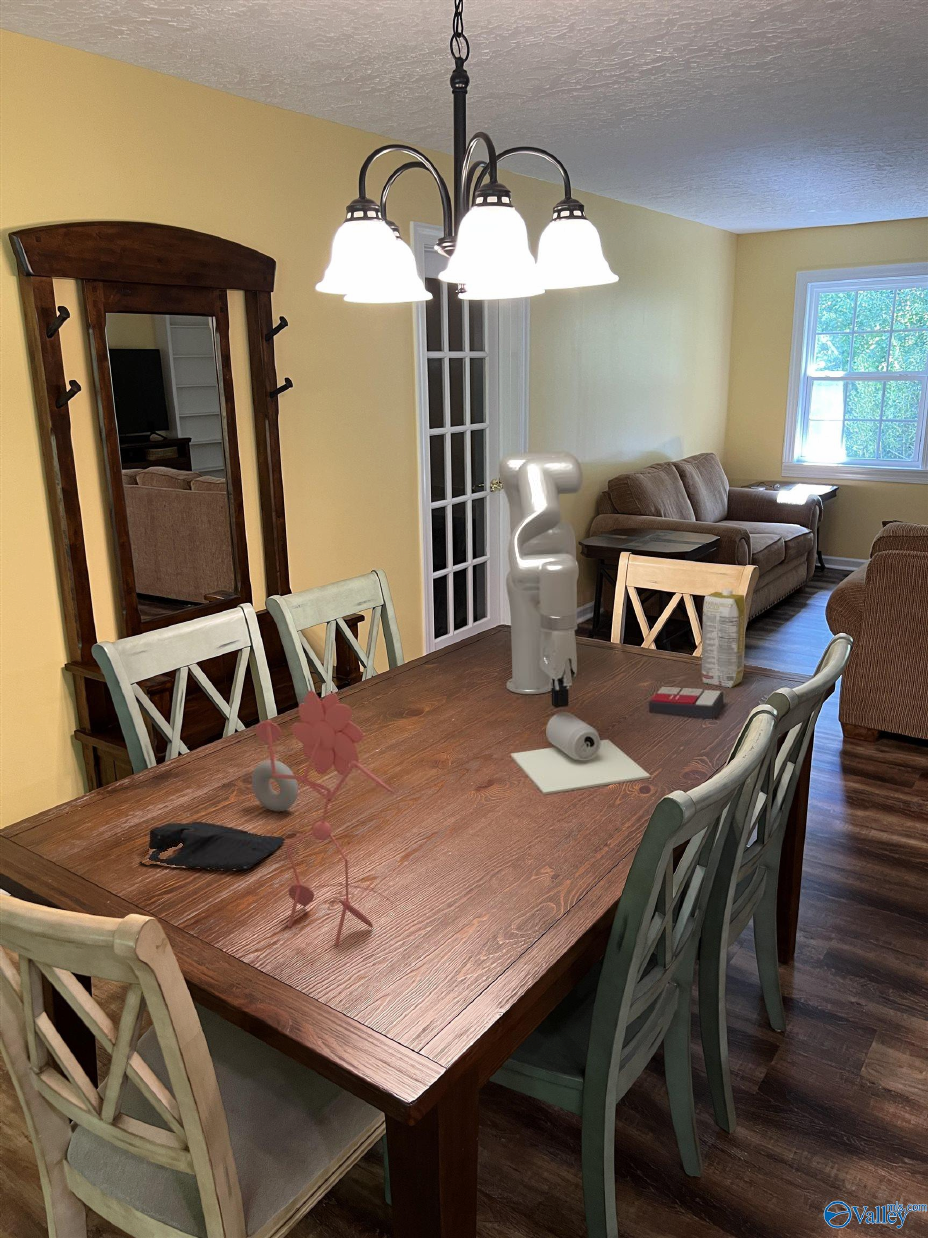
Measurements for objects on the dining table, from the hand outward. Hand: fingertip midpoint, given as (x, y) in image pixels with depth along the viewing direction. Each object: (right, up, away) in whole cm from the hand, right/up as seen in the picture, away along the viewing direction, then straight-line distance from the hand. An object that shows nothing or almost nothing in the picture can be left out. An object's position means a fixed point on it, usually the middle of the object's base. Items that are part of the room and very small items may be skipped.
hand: (560, 705), depth 191 cm
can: (0, -5, +3) cm, 6 cm away
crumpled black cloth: (-63, -22, -35) cm, 75 cm away
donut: (-55, -18, -20) cm, 61 cm away
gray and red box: (+32, -3, +23) cm, 40 cm away
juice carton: (+45, +2, +41) cm, 61 cm away
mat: (+3, -12, -7) cm, 14 cm away
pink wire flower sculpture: (-38, -26, -55) cm, 72 cm away
